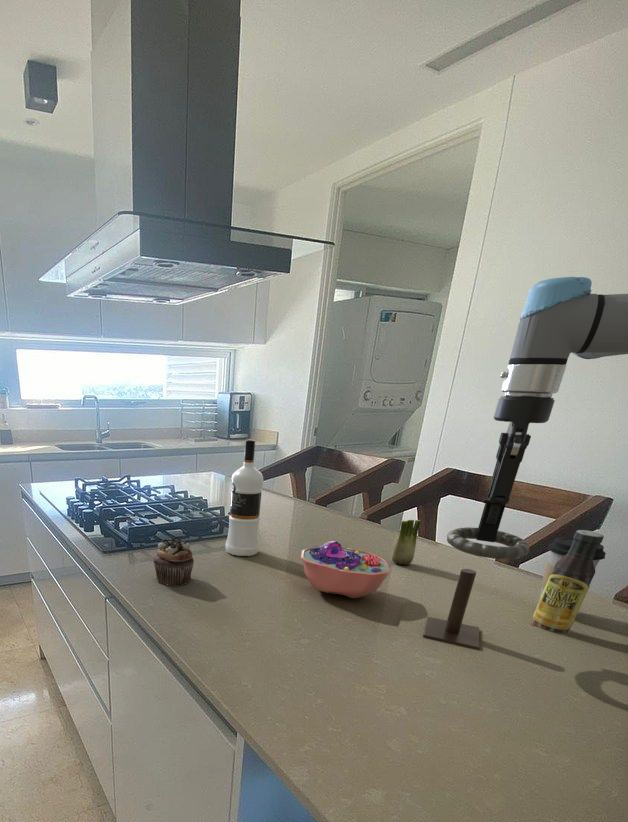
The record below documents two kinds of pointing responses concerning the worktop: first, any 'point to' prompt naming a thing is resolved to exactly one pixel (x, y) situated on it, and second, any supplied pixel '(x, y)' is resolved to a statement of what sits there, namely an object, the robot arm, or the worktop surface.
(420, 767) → the worktop surface
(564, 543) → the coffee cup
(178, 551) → the cupcake
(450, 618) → the post stand
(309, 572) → the cell model
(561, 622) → the sauce bottle
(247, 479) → the vodka
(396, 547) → the fennel bulb
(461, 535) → the ring
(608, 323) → the robot arm
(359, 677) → the worktop surface
